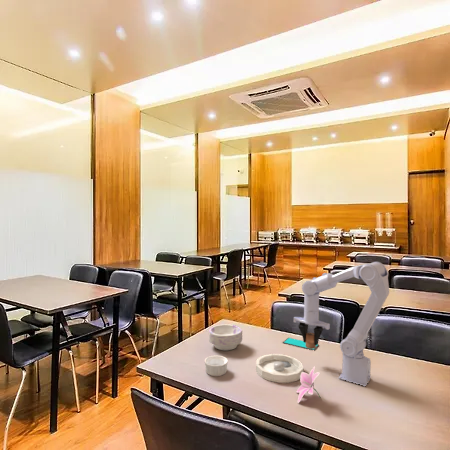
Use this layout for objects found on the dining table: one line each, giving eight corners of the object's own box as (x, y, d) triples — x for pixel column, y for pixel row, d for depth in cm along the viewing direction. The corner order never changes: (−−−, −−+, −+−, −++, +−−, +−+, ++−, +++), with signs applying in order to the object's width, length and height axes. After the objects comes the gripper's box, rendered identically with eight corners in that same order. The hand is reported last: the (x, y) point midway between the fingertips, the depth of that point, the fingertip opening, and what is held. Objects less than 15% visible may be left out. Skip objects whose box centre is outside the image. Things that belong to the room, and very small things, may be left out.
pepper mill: (317, 346, 130) (317, 334, 130) (313, 349, 127) (313, 336, 127) (307, 343, 132) (308, 331, 132) (304, 346, 129) (304, 334, 129)
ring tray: (309, 369, 124) (309, 362, 124) (290, 388, 110) (290, 380, 110) (269, 356, 135) (269, 350, 135) (247, 372, 121) (247, 365, 121)
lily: (303, 387, 113) (291, 364, 112) (335, 383, 107) (322, 359, 106) (296, 415, 103) (282, 390, 102) (331, 412, 97) (316, 386, 96)
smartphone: (288, 337, 156) (318, 344, 148) (288, 339, 156) (318, 346, 148) (282, 342, 150) (314, 349, 142) (282, 344, 150) (314, 351, 142)
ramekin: (225, 378, 117) (225, 366, 116) (201, 375, 118) (201, 364, 118) (229, 367, 125) (229, 356, 125) (207, 365, 127) (207, 354, 127)
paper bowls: (203, 343, 149) (204, 326, 149) (233, 338, 155) (233, 322, 155) (216, 356, 135) (217, 337, 135) (248, 350, 142) (248, 332, 141)
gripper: (332, 310, 128) (331, 344, 128) (298, 304, 137) (298, 336, 137) (326, 315, 122) (325, 350, 123) (291, 308, 131) (291, 341, 131)
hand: (310, 343), depth 129 cm, fingers closed on pepper mill, 4 cm apart
